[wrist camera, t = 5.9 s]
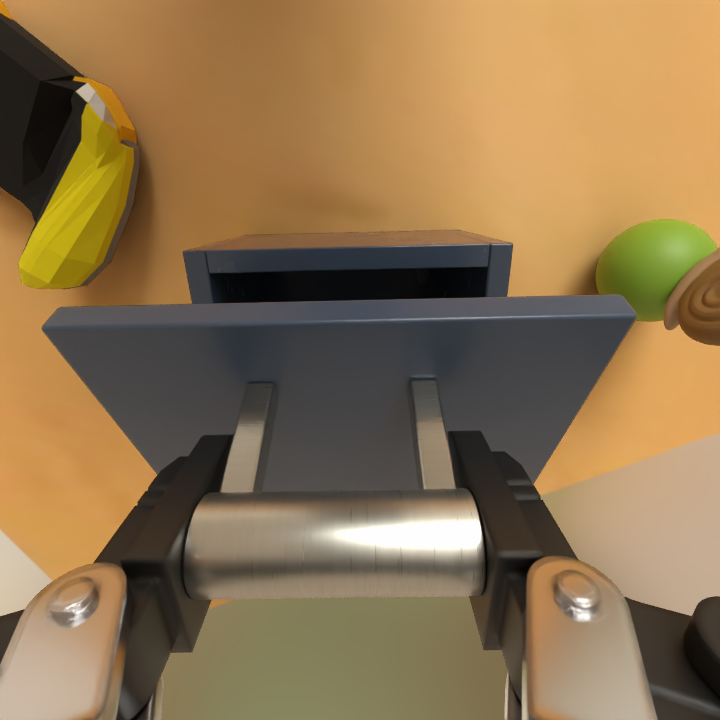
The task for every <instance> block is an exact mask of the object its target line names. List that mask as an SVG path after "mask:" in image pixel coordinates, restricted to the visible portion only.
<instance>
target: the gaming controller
mask: <svg viewBox="0 0 720 720" xmlns="http://www.w3.org/2000/svg"><path fill="white" fill-rule="evenodd" d="M139 167H140V150H139V148H138V144H137V139H136V130H135V129H134V127H133V125H132V123H131V121H130V119H129V117H128V116H127V114H126V112H125V110H124V108H123V106H122V104H121V102H120V101H119V99H118V97H117V96H116V95H115V93H114V92H113V91H112V89H111V88H110V87H107V86H105V85H103V84H101V83H99V82H96V81H94V80H92V79H88V78H86V77H84V76H83V75H82V74H80V73H79V72H78V71H77V70H75V69H74V68H73V67H72V66H70V65H69V64H68V63H67V62H65V61H64V60H63V59H62V58H60V57H59V56H58V55H57V54H55V53H54V52H53V51H52V50H50V49H49V48H48V47H47V46H45V45H44V44H43V43H42V42H40V41H39V40H38V39H37V38H35V37H34V36H33V35H31V34H30V33H29V32H28V31H26V30H25V29H24V28H23V27H21V26H20V25H19V24H18V23H16V22H15V21H14V20H13V19H12V17H11V15H10V13H9V11H8V10H7V8H6V6H5V4H4V2H2V1H1V0H0V187H1V188H2V189H4V190H5V191H7V192H8V193H10V194H11V195H13V196H14V197H15V198H17V199H18V200H20V201H21V202H22V203H23V204H24V205H25V206H26V207H27V208H28V209H29V210H30V211H31V212H32V215H33V217H34V220H35V225H34V228H33V230H32V232H31V235H30V237H29V239H28V242H27V244H26V246H25V249H24V251H23V253H22V256H21V258H20V260H19V263H18V267H19V272H20V277H21V282H22V284H23V285H26V286H29V287H33V288H38V289H69V288H74V287H80V286H86V285H88V284H89V283H90V282H91V281H92V280H93V279H94V278H95V277H96V276H97V275H98V274H99V273H100V272H101V271H102V270H103V269H104V268H105V267H106V266H107V265H108V264H109V263H110V262H111V261H112V258H113V256H114V253H115V250H116V248H117V245H118V243H119V240H120V238H121V235H122V233H123V230H124V228H125V225H126V222H127V220H128V217H129V215H130V212H131V210H132V207H133V203H134V197H135V191H136V185H137V179H138V173H139Z"/></svg>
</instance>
